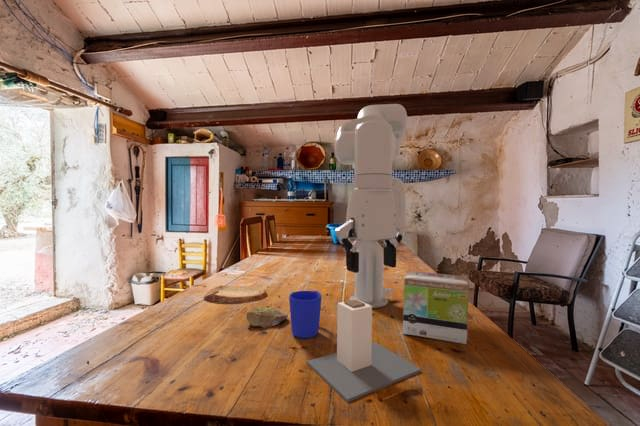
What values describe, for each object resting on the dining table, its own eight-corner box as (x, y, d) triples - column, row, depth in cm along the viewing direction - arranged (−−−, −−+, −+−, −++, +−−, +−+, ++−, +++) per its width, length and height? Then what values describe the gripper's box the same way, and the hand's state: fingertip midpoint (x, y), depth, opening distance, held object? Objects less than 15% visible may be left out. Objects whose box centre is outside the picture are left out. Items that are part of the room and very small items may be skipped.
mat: (373, 343, 71) (373, 341, 71) (420, 372, 59) (420, 369, 59) (306, 364, 61) (306, 361, 61) (347, 402, 49) (347, 399, 49)
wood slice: (271, 296, 108) (271, 286, 108) (230, 310, 94) (230, 298, 94) (239, 287, 119) (239, 278, 119) (198, 299, 104) (198, 288, 104)
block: (356, 354, 64) (356, 297, 64) (371, 365, 60) (372, 304, 60) (337, 360, 62) (337, 301, 62) (351, 371, 58) (352, 308, 57)
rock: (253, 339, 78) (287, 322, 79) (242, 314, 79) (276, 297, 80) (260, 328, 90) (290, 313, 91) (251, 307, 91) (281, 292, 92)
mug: (329, 324, 82) (330, 288, 82) (314, 343, 71) (315, 301, 70) (302, 320, 85) (302, 285, 84) (283, 338, 73) (283, 298, 73)
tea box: (402, 335, 75) (403, 277, 75) (405, 321, 85) (406, 269, 84) (468, 345, 70) (469, 283, 70) (463, 329, 80) (464, 274, 79)
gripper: (391, 186, 68) (390, 261, 68) (326, 184, 59) (326, 269, 60) (417, 185, 61) (415, 267, 62) (348, 182, 53) (347, 278, 53)
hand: (371, 268), depth 61 cm, fingers open, 9 cm apart
